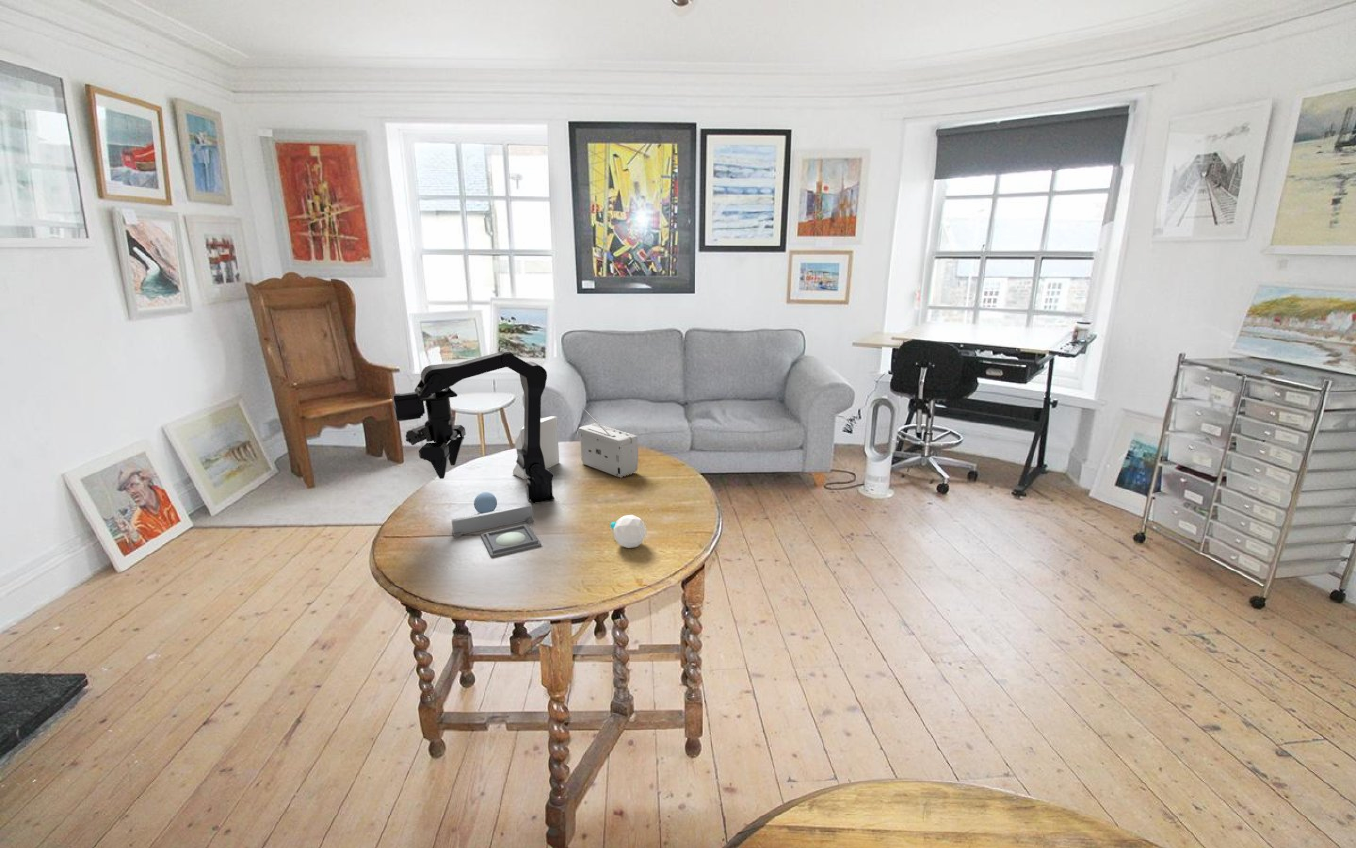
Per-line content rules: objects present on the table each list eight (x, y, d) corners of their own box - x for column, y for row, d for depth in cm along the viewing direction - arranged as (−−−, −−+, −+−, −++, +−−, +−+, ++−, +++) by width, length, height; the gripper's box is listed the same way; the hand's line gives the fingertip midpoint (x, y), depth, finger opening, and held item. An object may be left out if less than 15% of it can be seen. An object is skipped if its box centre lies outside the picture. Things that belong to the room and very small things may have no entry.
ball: (495, 507, 166) (493, 487, 164) (500, 515, 161) (498, 495, 159) (473, 511, 163) (471, 491, 161) (477, 519, 158) (475, 499, 156)
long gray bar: (529, 515, 161) (528, 502, 159) (533, 521, 157) (532, 507, 156) (452, 531, 151) (450, 517, 150) (454, 538, 148) (453, 523, 147)
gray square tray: (528, 526, 155) (528, 522, 154) (541, 546, 145) (541, 541, 144) (481, 536, 149) (480, 532, 149) (491, 557, 139) (491, 553, 139)
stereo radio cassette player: (639, 473, 191) (638, 414, 185) (620, 480, 185) (619, 419, 179) (596, 458, 204) (594, 402, 198) (577, 464, 198) (575, 407, 193)
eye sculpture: (535, 456, 205) (532, 411, 200) (561, 463, 199) (559, 416, 194) (497, 471, 191) (493, 423, 187) (524, 479, 185) (520, 429, 181)
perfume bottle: (621, 546, 138) (592, 533, 146) (645, 555, 143) (616, 543, 152) (634, 514, 139) (605, 504, 148) (658, 525, 145) (628, 515, 153)
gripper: (420, 406, 160) (428, 459, 164) (392, 427, 142) (402, 487, 147) (462, 404, 160) (469, 458, 165) (439, 425, 142) (448, 485, 147)
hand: (447, 471), depth 156 cm, fingers open, 9 cm apart
